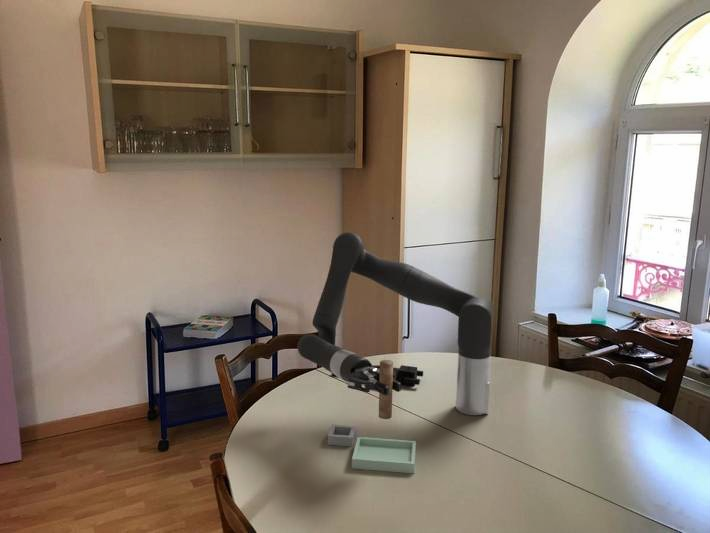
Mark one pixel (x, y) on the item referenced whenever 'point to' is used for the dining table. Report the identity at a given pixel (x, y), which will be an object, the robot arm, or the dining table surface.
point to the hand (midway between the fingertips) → (393, 389)
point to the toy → (405, 375)
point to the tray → (384, 455)
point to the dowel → (387, 380)
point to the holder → (342, 435)
